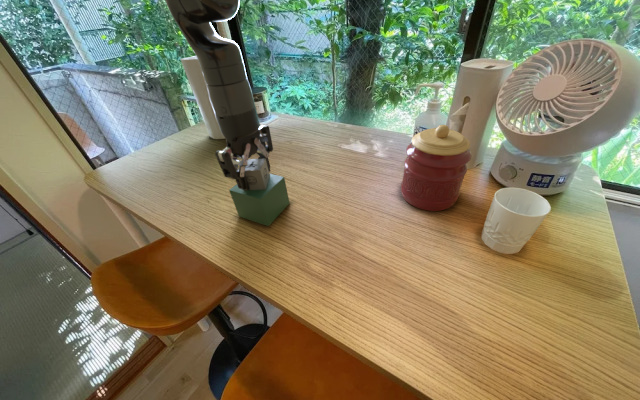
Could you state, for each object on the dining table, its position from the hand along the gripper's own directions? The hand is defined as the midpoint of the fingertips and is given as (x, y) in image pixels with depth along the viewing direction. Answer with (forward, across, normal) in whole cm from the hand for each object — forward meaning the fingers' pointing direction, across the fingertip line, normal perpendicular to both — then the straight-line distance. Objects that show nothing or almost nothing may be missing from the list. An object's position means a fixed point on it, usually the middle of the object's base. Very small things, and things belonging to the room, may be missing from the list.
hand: (256, 180), depth 57 cm
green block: (+9, 0, 0) cm, 9 cm away
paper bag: (+9, -36, -41) cm, 55 cm away
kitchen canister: (+9, -20, +35) cm, 41 cm away
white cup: (+9, -10, +50) cm, 52 cm away
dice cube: (+1, 0, 0) cm, 1 cm away
